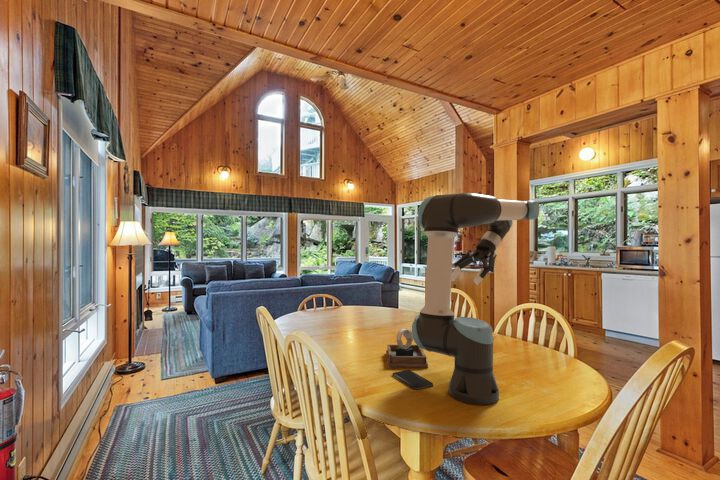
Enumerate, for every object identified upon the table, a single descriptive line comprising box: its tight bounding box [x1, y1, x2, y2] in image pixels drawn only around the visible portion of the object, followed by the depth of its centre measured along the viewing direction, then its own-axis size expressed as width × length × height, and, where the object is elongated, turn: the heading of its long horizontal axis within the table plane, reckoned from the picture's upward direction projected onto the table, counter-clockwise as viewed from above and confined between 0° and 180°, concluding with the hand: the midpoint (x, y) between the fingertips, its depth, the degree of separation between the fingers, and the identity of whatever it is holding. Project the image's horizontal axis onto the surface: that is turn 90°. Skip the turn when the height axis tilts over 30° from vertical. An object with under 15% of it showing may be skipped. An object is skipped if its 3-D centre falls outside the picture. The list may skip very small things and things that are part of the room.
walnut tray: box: [385, 344, 429, 369], centre depth 146 cm, size 17×15×4 cm
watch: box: [396, 328, 414, 356], centre depth 146 cm, size 6×8×11 cm
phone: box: [392, 369, 434, 391], centre depth 125 cm, size 8×1×15 cm
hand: (462, 281), depth 148 cm, fingers open, 13 cm apart
